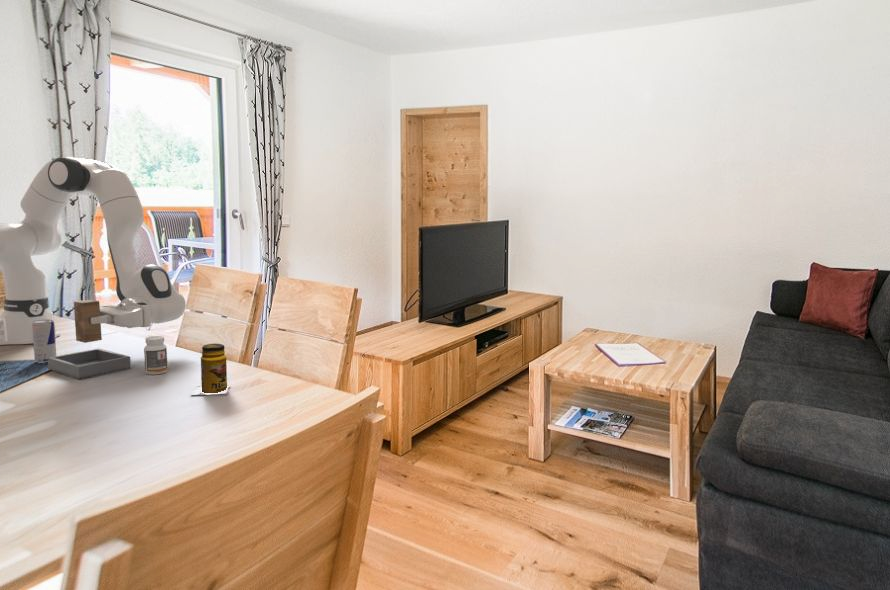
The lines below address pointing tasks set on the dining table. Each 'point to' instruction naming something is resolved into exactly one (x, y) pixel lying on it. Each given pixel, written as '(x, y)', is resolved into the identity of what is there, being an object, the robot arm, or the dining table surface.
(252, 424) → the dining table surface
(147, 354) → the pill bottle
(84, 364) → the tote
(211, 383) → the condiment
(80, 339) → the walnut block
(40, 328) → the energy drink
